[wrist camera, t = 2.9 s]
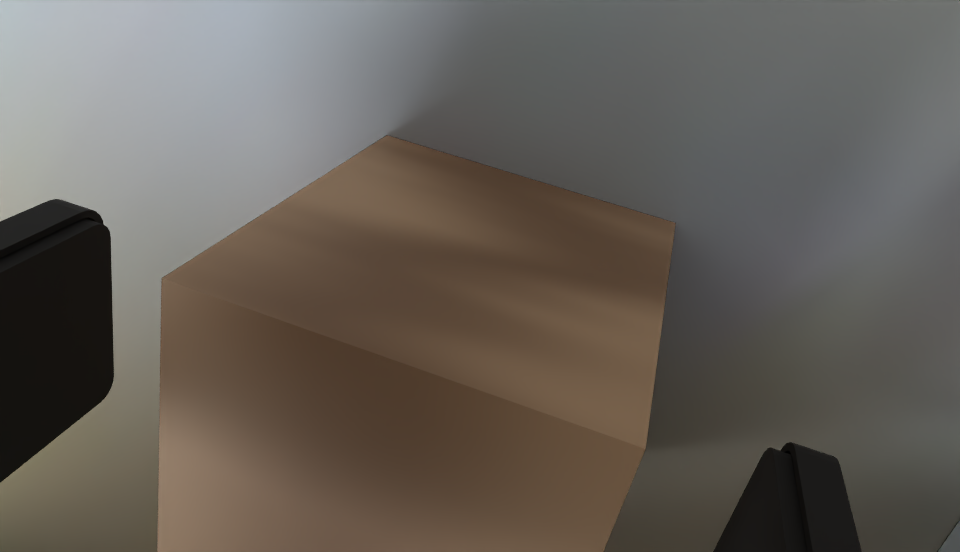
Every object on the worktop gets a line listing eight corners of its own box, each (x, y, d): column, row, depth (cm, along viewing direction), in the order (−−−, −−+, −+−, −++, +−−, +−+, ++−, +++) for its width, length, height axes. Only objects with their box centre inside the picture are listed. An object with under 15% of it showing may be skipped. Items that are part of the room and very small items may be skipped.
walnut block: (675, 222, 12) (645, 449, 7) (589, 456, 14) (517, 760, 9) (387, 134, 13) (161, 277, 8) (349, 370, 15) (156, 606, 10)
